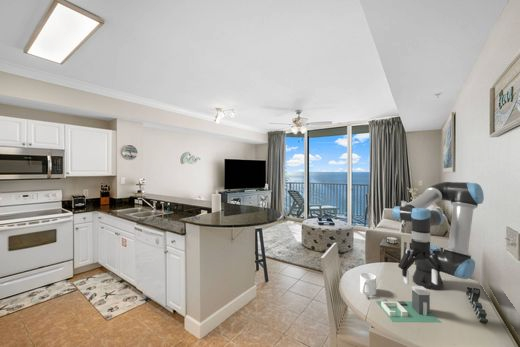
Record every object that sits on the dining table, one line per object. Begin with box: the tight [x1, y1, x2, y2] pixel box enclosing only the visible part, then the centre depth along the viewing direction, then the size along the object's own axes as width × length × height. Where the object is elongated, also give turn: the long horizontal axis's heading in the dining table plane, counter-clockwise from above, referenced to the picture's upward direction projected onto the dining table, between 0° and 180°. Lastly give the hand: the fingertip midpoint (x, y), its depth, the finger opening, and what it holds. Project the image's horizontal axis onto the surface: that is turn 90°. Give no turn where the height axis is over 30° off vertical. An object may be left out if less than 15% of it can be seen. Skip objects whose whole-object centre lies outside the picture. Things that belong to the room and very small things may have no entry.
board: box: [375, 298, 442, 323], centre depth 109 cm, size 22×16×3 cm
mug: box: [359, 272, 377, 298], centre depth 125 cm, size 12×8×10 cm
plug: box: [411, 285, 431, 315], centre depth 108 cm, size 5×6×11 cm
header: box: [380, 300, 408, 316], centre depth 109 cm, size 8×8×2 cm
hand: (420, 283), depth 108 cm, fingers open, 13 cm apart
